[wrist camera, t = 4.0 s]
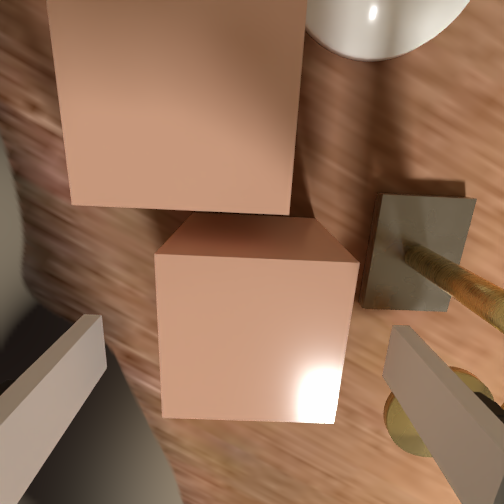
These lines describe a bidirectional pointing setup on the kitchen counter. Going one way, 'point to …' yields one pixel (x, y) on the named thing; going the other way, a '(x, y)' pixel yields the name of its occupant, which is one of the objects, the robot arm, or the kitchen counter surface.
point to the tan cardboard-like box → (179, 101)
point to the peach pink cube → (253, 318)
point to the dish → (378, 25)
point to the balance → (424, 278)
